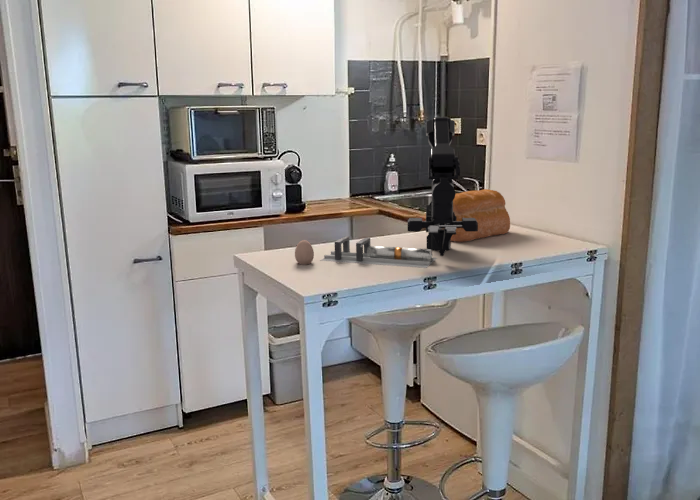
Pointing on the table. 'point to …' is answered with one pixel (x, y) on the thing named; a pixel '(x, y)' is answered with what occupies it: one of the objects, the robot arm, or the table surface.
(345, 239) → the collar
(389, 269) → the table surface
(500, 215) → the bread
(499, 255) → the table surface
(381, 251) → the tube
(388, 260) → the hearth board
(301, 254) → the egg
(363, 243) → the dark gray arch
